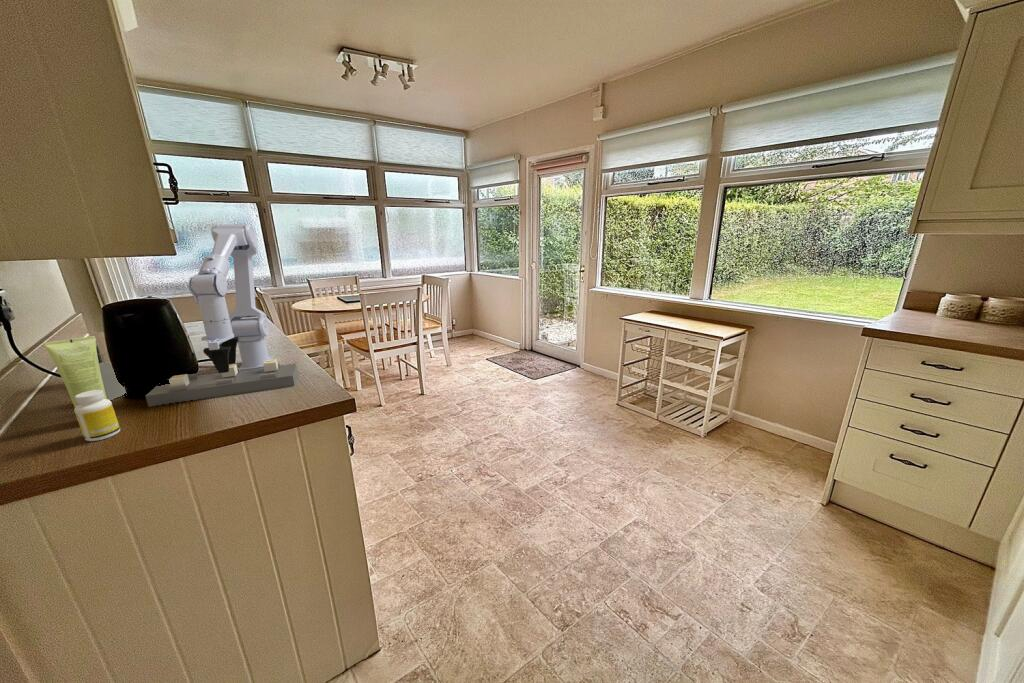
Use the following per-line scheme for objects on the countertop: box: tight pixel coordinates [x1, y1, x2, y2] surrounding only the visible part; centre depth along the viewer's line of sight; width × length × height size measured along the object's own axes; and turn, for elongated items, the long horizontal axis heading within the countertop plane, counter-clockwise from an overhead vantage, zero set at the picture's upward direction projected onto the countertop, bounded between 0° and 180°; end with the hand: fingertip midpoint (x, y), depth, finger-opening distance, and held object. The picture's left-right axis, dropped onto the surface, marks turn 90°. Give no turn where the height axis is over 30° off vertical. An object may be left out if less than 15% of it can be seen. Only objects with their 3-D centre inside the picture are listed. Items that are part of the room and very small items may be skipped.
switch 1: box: [168, 373, 190, 387], centre depth 99 cm, size 3×3×3 cm
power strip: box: [145, 363, 299, 408], centre depth 105 cm, size 11×32×4 cm, turn 114°
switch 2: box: [263, 358, 279, 372], centre depth 110 cm, size 3×3×3 cm
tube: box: [43, 335, 107, 408], centre depth 86 cm, size 6×5×20 cm
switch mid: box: [222, 363, 238, 377], centre depth 106 cm, size 3×3×3 cm
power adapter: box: [99, 353, 127, 401], centre depth 98 cm, size 3×5×12 cm, turn 177°
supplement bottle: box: [73, 390, 121, 442], centre depth 80 cm, size 5×5×10 cm
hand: (227, 367), depth 105 cm, fingers open, 7 cm apart
